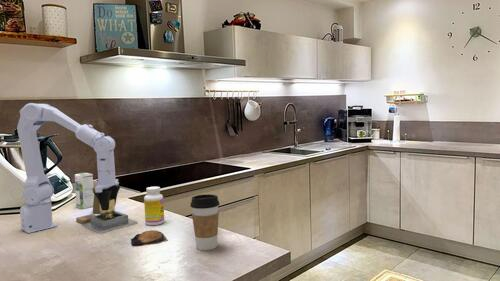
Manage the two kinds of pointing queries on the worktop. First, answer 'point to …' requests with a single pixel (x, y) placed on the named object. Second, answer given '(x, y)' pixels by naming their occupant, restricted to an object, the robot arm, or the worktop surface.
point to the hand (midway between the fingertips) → (108, 208)
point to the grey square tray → (109, 222)
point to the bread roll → (148, 238)
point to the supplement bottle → (154, 206)
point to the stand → (84, 219)
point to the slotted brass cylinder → (110, 212)
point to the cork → (96, 203)
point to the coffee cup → (205, 220)
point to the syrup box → (84, 190)
